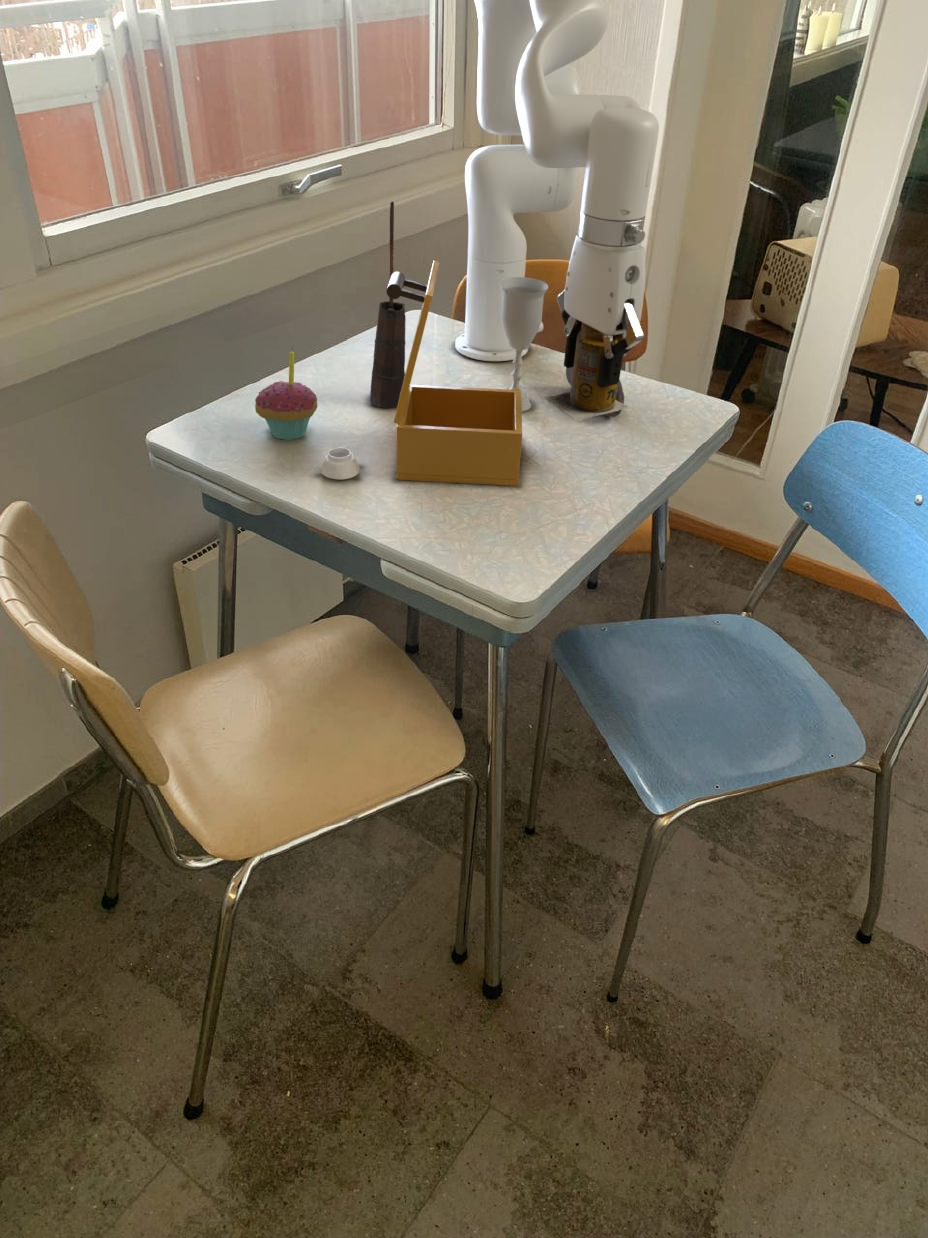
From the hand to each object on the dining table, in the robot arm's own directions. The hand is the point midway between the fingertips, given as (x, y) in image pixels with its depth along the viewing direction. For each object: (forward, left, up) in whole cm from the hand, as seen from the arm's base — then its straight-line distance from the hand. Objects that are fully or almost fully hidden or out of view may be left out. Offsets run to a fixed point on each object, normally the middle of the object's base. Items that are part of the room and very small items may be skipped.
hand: (590, 373), depth 118 cm
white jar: (+30, -12, -13) cm, 35 cm away
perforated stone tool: (-14, -13, -13) cm, 23 cm away
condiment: (0, 0, -4) cm, 4 cm away
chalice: (-3, -19, -13) cm, 23 cm away
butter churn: (+14, -28, -13) cm, 34 cm away
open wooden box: (+14, -8, -12) cm, 21 cm away
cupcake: (+31, -26, -13) cm, 43 cm away
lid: (+19, -12, +3) cm, 22 cm away
